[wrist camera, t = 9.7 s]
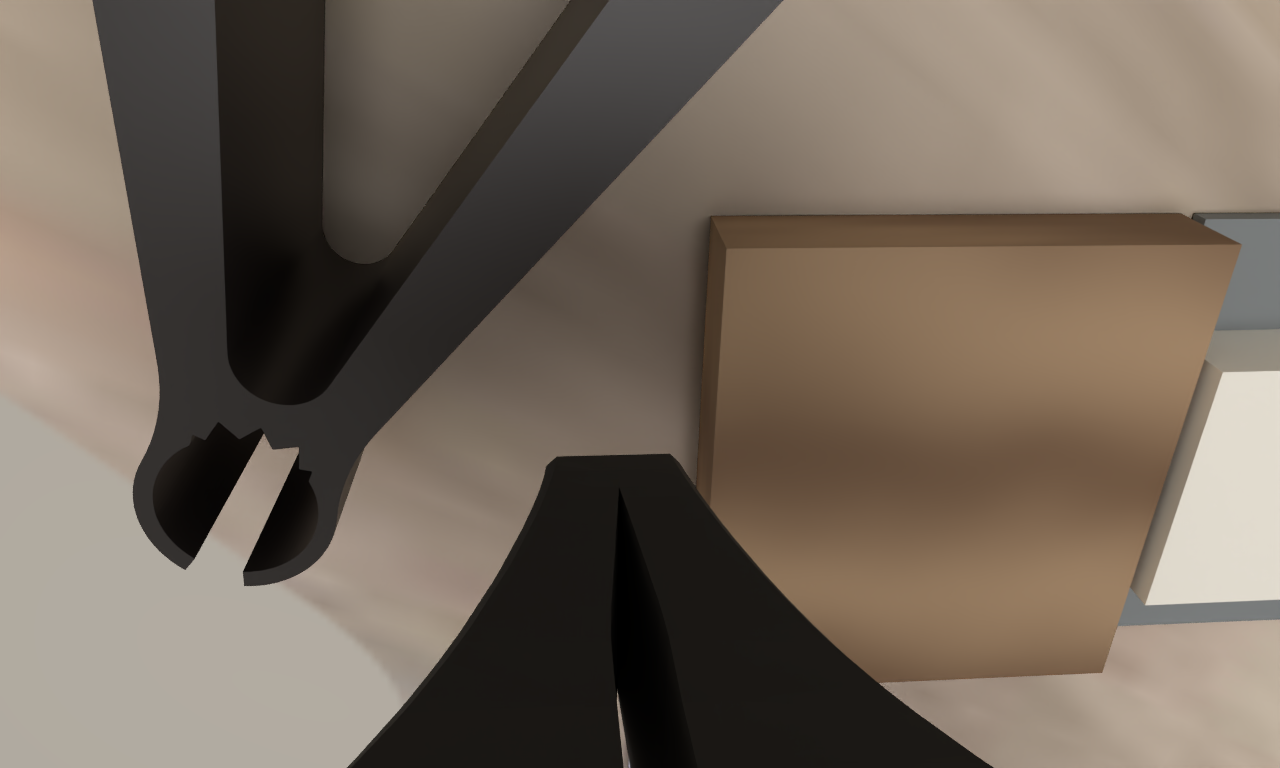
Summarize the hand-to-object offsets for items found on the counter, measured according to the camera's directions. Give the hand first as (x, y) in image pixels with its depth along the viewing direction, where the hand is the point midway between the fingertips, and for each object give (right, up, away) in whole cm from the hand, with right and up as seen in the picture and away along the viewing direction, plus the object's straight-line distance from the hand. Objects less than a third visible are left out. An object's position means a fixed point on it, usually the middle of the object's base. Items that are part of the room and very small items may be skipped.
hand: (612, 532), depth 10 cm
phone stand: (-2, +10, +2) cm, 10 cm away
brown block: (+7, 0, +12) cm, 13 cm away
